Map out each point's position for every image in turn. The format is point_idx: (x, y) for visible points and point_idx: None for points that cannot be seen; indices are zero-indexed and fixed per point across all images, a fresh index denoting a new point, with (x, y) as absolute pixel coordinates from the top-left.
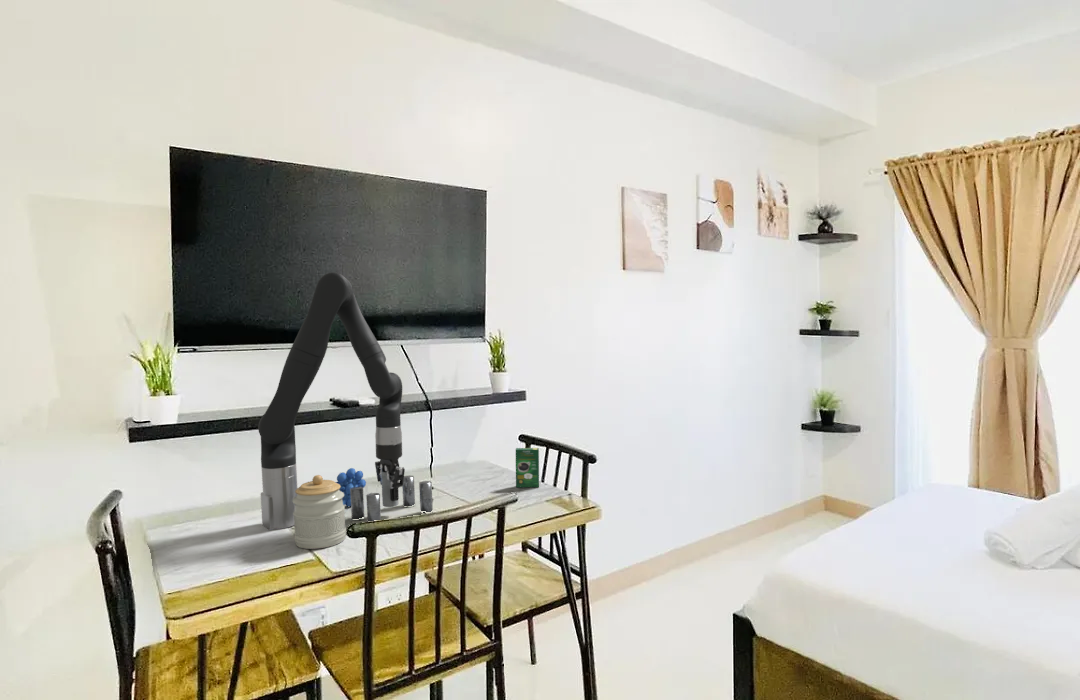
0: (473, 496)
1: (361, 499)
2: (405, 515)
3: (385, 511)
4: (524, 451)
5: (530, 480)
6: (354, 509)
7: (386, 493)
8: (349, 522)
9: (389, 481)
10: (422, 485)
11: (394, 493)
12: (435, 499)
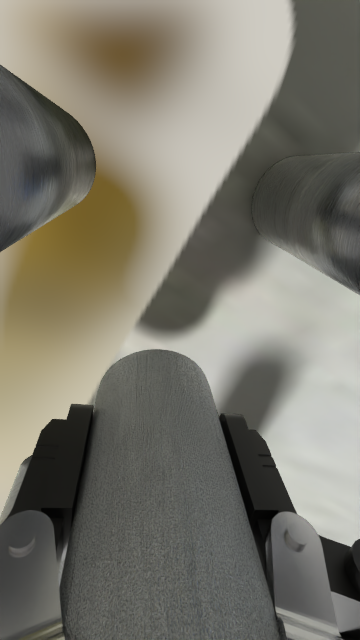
0: None
1: (324, 238)
2: (95, 398)
3: (246, 375)
4: None
5: None
6: (323, 160)
7: (120, 436)
8: (290, 107)
9: (53, 626)
10: None
11: (26, 473)
12: None
